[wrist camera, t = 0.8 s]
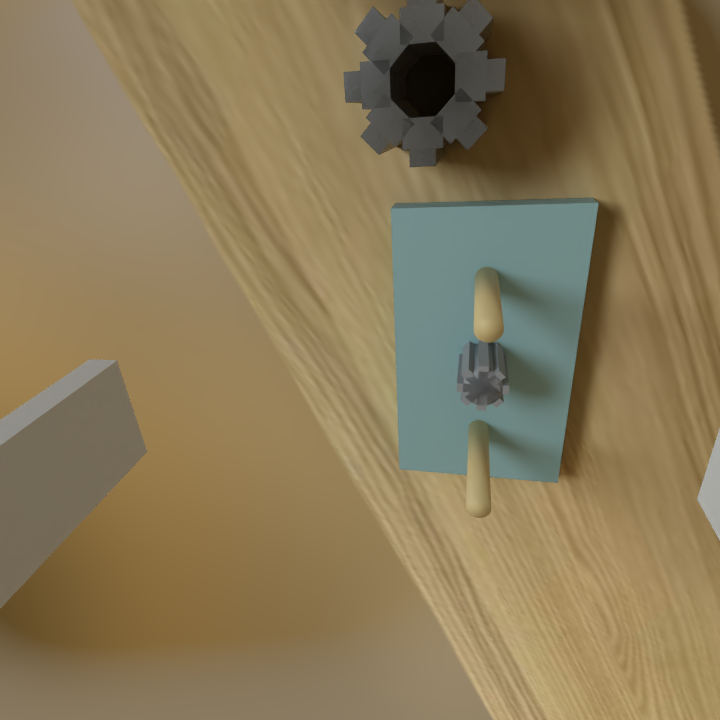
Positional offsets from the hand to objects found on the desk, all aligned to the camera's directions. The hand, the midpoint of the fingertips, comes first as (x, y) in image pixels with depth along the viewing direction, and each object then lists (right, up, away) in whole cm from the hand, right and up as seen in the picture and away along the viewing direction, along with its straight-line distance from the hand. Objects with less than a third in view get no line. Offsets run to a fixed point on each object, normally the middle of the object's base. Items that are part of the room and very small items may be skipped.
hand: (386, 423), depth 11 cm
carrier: (+7, +2, +19) cm, 20 cm away
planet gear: (+3, +15, +13) cm, 20 cm away
